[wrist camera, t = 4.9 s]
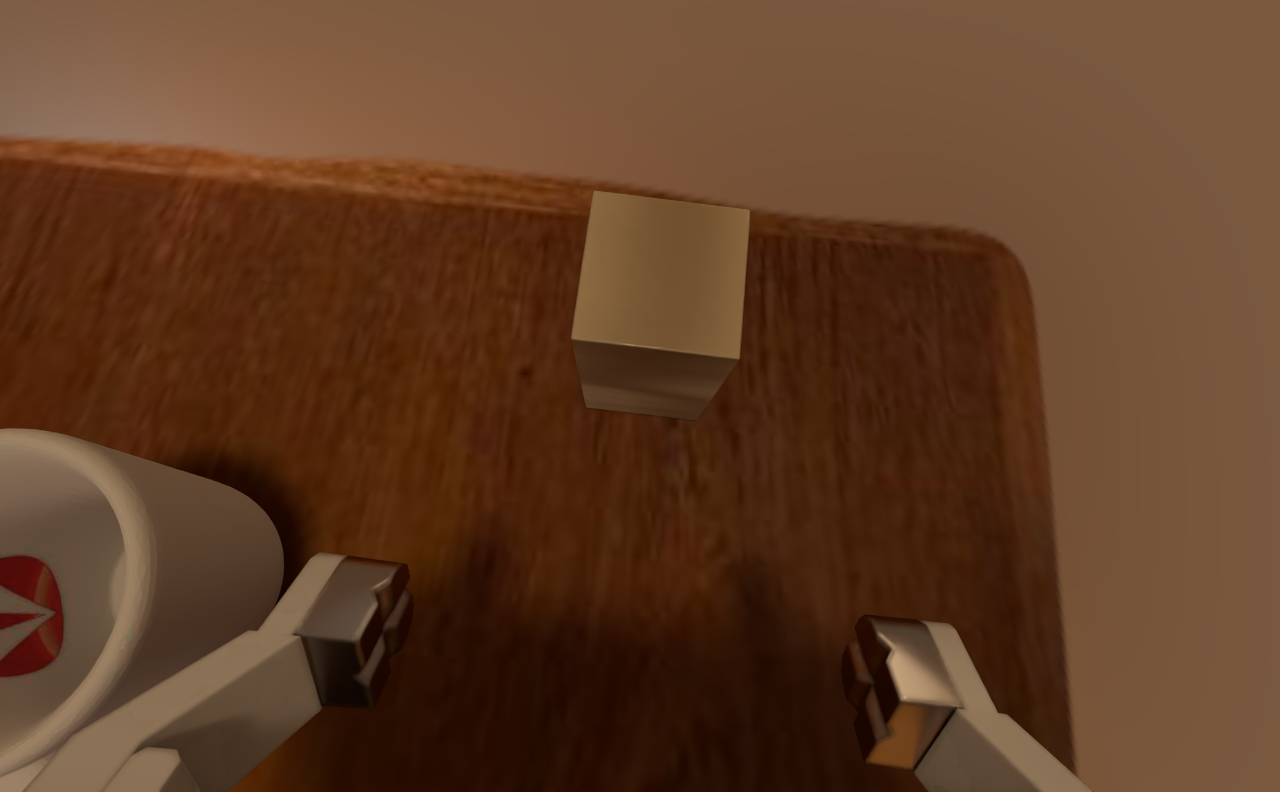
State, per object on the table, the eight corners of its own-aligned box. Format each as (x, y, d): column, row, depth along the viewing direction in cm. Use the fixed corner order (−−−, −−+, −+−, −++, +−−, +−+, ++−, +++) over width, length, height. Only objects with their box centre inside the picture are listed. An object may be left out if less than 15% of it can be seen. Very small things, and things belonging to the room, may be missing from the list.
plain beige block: (706, 316, 24) (750, 209, 16) (697, 421, 23) (739, 359, 15) (600, 303, 24) (593, 189, 16) (585, 407, 23) (570, 338, 15)
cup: (354, 735, 20) (183, 864, 12) (108, 824, 19) (-252, 1027, 11) (296, 439, 22) (122, 385, 14) (75, 505, 21) (-239, 485, 13)
